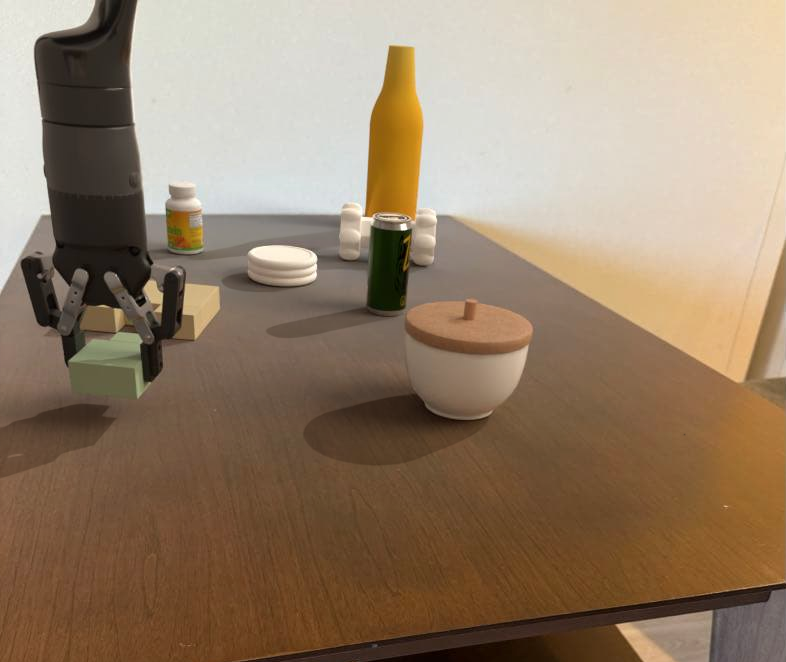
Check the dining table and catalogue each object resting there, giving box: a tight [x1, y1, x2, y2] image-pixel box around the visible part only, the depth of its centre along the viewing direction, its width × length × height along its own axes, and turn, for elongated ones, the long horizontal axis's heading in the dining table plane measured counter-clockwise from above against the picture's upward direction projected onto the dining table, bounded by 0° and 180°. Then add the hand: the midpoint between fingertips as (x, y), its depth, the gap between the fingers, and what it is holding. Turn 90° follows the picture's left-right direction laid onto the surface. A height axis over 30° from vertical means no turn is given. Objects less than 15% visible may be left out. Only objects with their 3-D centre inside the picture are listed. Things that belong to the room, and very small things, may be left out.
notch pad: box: [80, 279, 221, 341], centre depth 104 cm, size 14×12×3 cm
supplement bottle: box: [164, 181, 204, 256], centre depth 130 cm, size 5×5×10 cm
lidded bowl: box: [404, 298, 534, 421], centre depth 86 cm, size 13×13×11 cm
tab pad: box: [68, 331, 152, 400], centre depth 79 cm, size 8×6×3 cm
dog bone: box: [338, 202, 438, 267], centre depth 134 cm, size 15×9×8 cm, turn 90°
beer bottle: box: [364, 44, 424, 221], centre depth 146 cm, size 9×9×29 cm
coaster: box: [246, 244, 318, 287], centre depth 123 cm, size 10×10×4 cm
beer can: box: [365, 213, 412, 317], centre depth 111 cm, size 5×5×12 cm
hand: (115, 374), depth 78 cm, fingers closed on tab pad, 6 cm apart
